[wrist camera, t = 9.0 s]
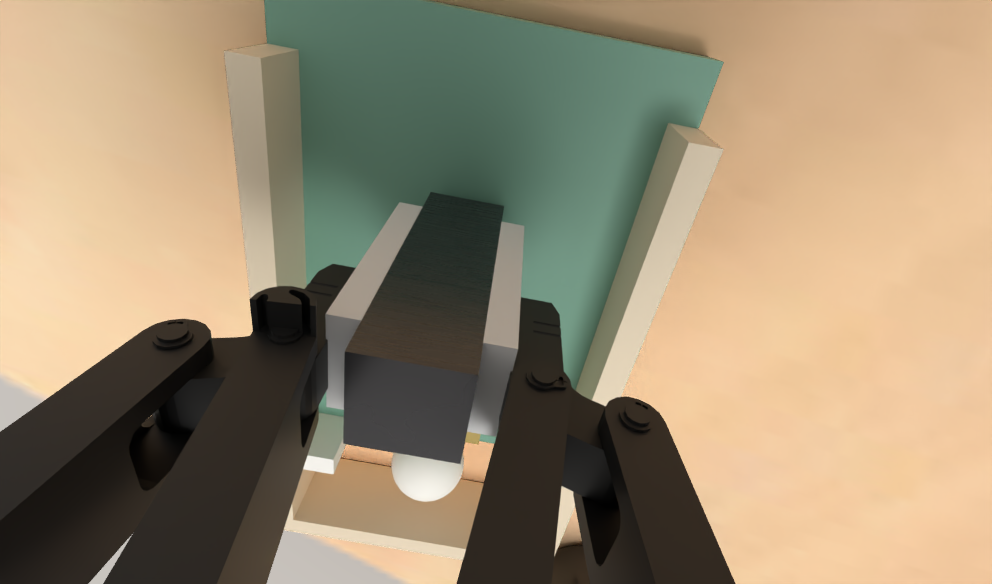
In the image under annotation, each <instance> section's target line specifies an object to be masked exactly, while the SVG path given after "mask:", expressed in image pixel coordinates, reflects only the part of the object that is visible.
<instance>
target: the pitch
mask: <svg viewBox="0 0 992 584" xmlns="http://www.w3.org/2000/svg"><path fill="white" fill-rule="evenodd" d="M264 4H265V19H266V35H267V44H261V45H255V46H249V47H243V48H237V49H231V50H225V51H224V57H225V66H226V76H227V85H228V95H229V104H230V114H231V123H232V132H233V142H234V151H235V161H236V170H237V180H238V189H239V199H240V208H241V218H242V227H243V236H244V246H245V255H246V265H247V274H248V284H249V293H250V298H252V297H253V296H254V295H255V294H256V293H257V292H260V291H262V290H264V289H267V288H271V287H277V286H294V287H298V288H303V289H305V288H306V286H307V285H308V284H309V283H310V281H311V280H312V279H313V277H314V276H315V275H316V274H317V272H318V271H320V270H322V269H324V268H325V267H327V266H329V265H331V264H338V265H343V266H349V267H354V268H356V267H357V266H358V264H359V263H360V261H361V260H362V258H363V257H364V255H365V254H366V252H367V251H368V249H369V248H370V246H371V245H372V243H373V241H374V240H375V238H376V237H377V235H378V234H379V232H380V231H381V229H382V228H383V226H384V225H385V223H386V222H387V220H388V219H389V217H390V216H391V214H392V213H393V211H394V210H395V208H396V207H397V205H398V204H399V202H401V203H406V204H412V205H417V206H422V207H423V205H424V204H425V202H426V200H427V198H428V196H429V194H430V192H434V193H439V194H444V195H450V196H455V197H460V198H465V199H471V200H476V201H481V202H486V203H491V204H497V205H502V206H504V210H503V217H502V222H506V223H512V224H517V225H522V226H524V243H523V263H522V282H521V297H523V298H528V299H533V300H539V301H544V302H550V303H552V304H553V306H554V307H555V308H556V310H557V311H558V313H559V314H560V328H561V340H562V353H563V367H564V372H565V373H566V375H567V376H568V377H569V379H570V381H571V386H572V388H573V389H574V390H575V391H577V392H578V393H579V394H581V395H582V396H584V397H586V398H588V399H590V400H592V401H595V402H597V403H599V404H602V405H604V406H606V405H607V403H608V402H609V401H610V400H612V399H614V398H616V397H621V395H622V393H623V390H624V388H625V385H626V383H627V381H628V378H629V376H630V373H631V371H632V368H633V366H634V364H635V361H636V359H637V356H638V354H639V352H640V349H641V347H642V344H643V342H644V340H645V337H646V335H647V332H648V330H649V328H650V325H651V323H652V320H653V318H654V316H655V313H656V311H657V308H658V306H659V304H660V301H661V299H662V296H663V294H664V292H665V289H666V287H667V284H668V282H669V279H670V277H671V275H672V272H673V270H674V267H675V265H676V263H677V260H678V258H679V255H680V253H681V251H682V248H683V246H684V243H685V241H686V239H687V236H688V234H689V231H690V229H691V227H692V224H693V222H694V219H695V217H696V215H697V212H698V210H699V207H700V205H701V203H702V200H703V198H704V195H705V193H706V190H707V188H708V186H709V183H710V181H711V178H712V176H713V174H714V171H715V169H716V166H717V164H718V162H719V159H720V157H721V154H722V152H723V150H724V149H723V148H721V147H720V146H719V145H718V144H716V143H715V142H714V141H713V140H711V139H710V138H709V137H708V136H707V135H705V134H704V133H703V132H702V131H700V130H699V129H698V128H699V126H700V123H701V120H702V118H703V115H704V113H705V110H706V107H707V105H708V102H709V99H710V97H711V94H712V92H713V89H714V86H715V84H716V81H717V78H718V76H719V73H720V71H721V68H722V65H723V63H724V62H722V61H719V60H716V59H713V58H710V57H707V56H702V55H697V54H692V53H687V52H682V51H677V50H672V49H667V48H662V47H657V46H652V45H648V44H643V43H638V42H633V41H628V40H623V39H618V38H613V37H608V36H603V35H598V34H593V33H588V32H583V31H578V30H574V29H569V28H564V27H559V26H554V25H549V24H544V23H539V22H534V21H529V20H524V19H519V18H514V17H509V16H504V15H500V14H495V13H490V12H485V11H480V10H475V9H470V8H465V7H460V6H455V5H450V4H445V3H440V2H435V1H430V0H264ZM343 425H344V410H342V409H336V408H330V407H326V393H325V394H324V396H323V398H322V400H321V402H320V404H319V421H318V424H317V428H316V431H315V434H314V437H313V440H312V443H311V446H310V449H309V452H308V455H307V459H306V462H305V465H304V468H303V471H302V474H301V477H300V480H299V483H298V487H297V490H296V493H295V496H294V499H293V502H292V505H291V508H290V511H289V514H288V518H287V521H286V524H285V527H284V530H286V531H292V532H298V533H304V534H310V535H316V536H322V537H328V538H334V539H340V540H346V541H352V542H357V543H363V544H369V545H375V546H381V547H387V548H393V549H399V550H405V551H411V552H417V553H423V554H429V555H435V556H440V557H446V558H452V559H458V560H463V558H464V555H465V551H466V547H467V544H468V540H469V536H470V533H471V529H472V525H473V521H474V518H475V514H476V510H477V507H478V503H479V499H480V495H481V492H482V488H483V484H484V483H480V482H474V481H469V480H463V479H460V480H459V482H458V484H457V485H456V487H455V488H454V489H453V490H452V491H451V492H450V493H449V494H447V495H446V496H444V497H443V498H440V499H438V500H435V501H428V502H423V501H418V500H414V499H412V498H410V497H408V496H407V495H405V494H404V493H403V492H402V491H401V490H400V489H399V487H398V486H397V484H396V482H395V480H394V478H393V474H392V467H388V466H382V465H377V464H371V463H365V462H359V461H354V460H348V459H342V458H341V456H342V453H343V451H344V449H345V446H346V444H343ZM497 432H498V431H497ZM496 436H497V435H496ZM495 440H496V437H494V436H489V435H483V434H481V435H480V440H479V441H483V442H489V443H494V444H495ZM574 508H575V502H574V497H573V491H571V490H569V489H567V488H565V487H563V486H562V488H561V498H560V507H559V517H558V527H557V536H556V546H555V554H556V551H557V549H558V546H559V544H560V542H561V539H562V537H563V534H564V532H565V530H566V527H567V525H568V522H569V520H570V518H571V515H572V513H573V510H574ZM554 556H555V555H554Z"/></svg>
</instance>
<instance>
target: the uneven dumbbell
mask: <svg viewBox="0 0 992 584" xmlns="http://www.w3.org/2000/svg"><path fill="white" fill-rule="evenodd" d="M503 210H504V206H502V205H497V204H491V203H486V202H481V201H476V200H471V199H465V198H460V197H455V196H450V195H444V194H439V193H434V192H430V194H429V196H428V198H427V200H426V202H425V204H424V205H423V208H422V209H421V211H420V213H419V215H418V217H417V219H416V221H415V222H414V224H413V226H412V228H411V230H410V232H409V234H408V235H407V237H406V239H405V241H404V243H403V245H402V246H401V248H400V250H399V252H398V254H397V256H396V258H395V259H394V261H393V263H392V265H391V267H390V269H389V271H388V272H387V274H386V276H385V278H384V280H383V282H382V284H381V285H380V287H379V289H378V291H377V293H376V295H375V297H374V298H373V300H372V302H371V304H370V306H369V308H368V310H367V311H366V313H365V315H364V317H363V319H362V321H361V322H360V324H359V326H358V328H357V329H356V331H355V333H354V335H353V337H352V339H351V340H350V342H349V344H348V346H347V348H346V350H345V359H344V425H343V444H348V445H354V446H359V447H365V448H371V449H377V450H382V451H388V452H394V453H399V454H405V455H411V456H417V457H422V458H428V459H434V460H440V461H445V462H451V463H457V464H461V459H462V454H463V449H464V444H465V442H468V443H473V444H479V440H480V435H481V434H477V433H472V432H467V429H468V424H469V419H470V414H471V410H472V405H473V400H474V395H475V390H476V385H477V380H478V375H479V368H480V362H481V355H482V349H483V340H484V333H485V327H486V320H487V313H488V307H489V300H490V294H491V287H492V281H493V274H494V268H495V261H496V255H497V248H498V242H499V235H500V229H501V222H502V217H503Z"/></svg>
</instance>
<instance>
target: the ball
mask: <svg viewBox="0 0 992 584" xmlns="http://www.w3.org/2000/svg"><path fill="white" fill-rule="evenodd" d="M391 467H392V474H393V478H394V480H395V482H396V484H397V486H398V487H399V489H400V490H401V491H402V492H403V493H404V494H405V495H407V496H408V497H410V498H412V499H414V500H418V501H423V502H428V501H435V500H438V499H440V498H443V497H444V496H446V495H447V494H449V493H450V492H451V491H452V490H453V489H454V488H455V487H456V485H457V484H458V482H459V480H460V478H461V476H462V472H463V467H464V456H463V454H462V459H461V464H457V463H451V462H445V461H440V460H434V459H428V458H422V457H417V456H411V455H405V454H399V453H393V457H392V466H391Z"/></svg>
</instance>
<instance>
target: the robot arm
mask: <svg viewBox="0 0 992 584" xmlns="http://www.w3.org/2000/svg"><path fill="white" fill-rule="evenodd" d="M422 208H423V207H422V206H417V205H412V204H406V203H401V202H399V204H398V205H397V207H396V208H395V210H394V211H393V213H392V214H391V216H390V217H389V219H388V220H387V222H386V223H385V225H384V226H383V228H382V229H381V231H380V232H379V234H378V235H377V237H376V238H375V240H374V241H373V243H372V245H371V246H370V248H369V249H368V251H367V252H366V254H365V255H364V257H363V258H362V260H361V261H360V263H359V264H358V266H357V267H356V268H354V267H349V266H343V265H338V264H331V265H329V266H327V267H325V268H324V269H322V270H320V271H318V272H317V274H316V275H315V276H314V277H313V279H312V280H311V281H310V283H309V284H308V285H307V286H306V288H305V289H303V288H298V287H294V286H277V287H271V288H267V289H264V290H262V291H260V292H257V293H256V294H255V295H254V296H253V297H252V298H250V307H251V316H252V325H253V332H252V334H251V335H250V336H247V337H237V338H211V331H210V330H209V328H208V327H207V326H206V325H205V324H203V323H201V322H199V321H196V320H189V319H176V320H168V321H164V322H161V323H157V324H154V325H153V326H151V327H149V328H147V329H145V330H143V331H142V332H140V333H139V334H138V335H136V336H135V337H133V338H132V339H131V340H129V341H128V342H126V343H125V344H124V345H122V346H121V347H119V348H118V349H116V350H115V351H114V352H112V353H111V354H109V355H108V356H107V357H105V358H104V359H102V360H101V361H100V362H98V363H97V364H95V365H94V366H93V367H91V368H90V369H88V370H87V371H85V372H84V373H83V374H81V375H80V376H78V377H77V378H76V379H74V380H73V381H71V382H70V383H69V384H67V385H66V386H64V387H63V388H62V389H60V390H59V391H57V392H56V393H54V394H53V395H52V396H50V397H49V398H47V399H46V400H45V401H43V402H42V403H40V404H39V405H38V406H36V407H35V408H33V409H32V410H31V411H29V412H28V413H26V414H25V415H23V416H22V417H21V418H19V419H18V420H16V421H15V422H14V423H12V424H11V425H9V426H8V427H7V428H5V429H4V430H2V431H1V432H0V584H88V583H89V582H90V581H91V580H92V579H93V578H94V576H95V575H96V574H97V573H98V572H99V571H100V570H101V569H102V567H103V566H104V565H105V564H106V563H107V562H108V561H109V560H110V558H111V557H112V556H113V555H114V554H115V553H116V552H117V550H118V549H119V548H120V547H121V546H122V545H123V544H124V543H125V541H126V540H127V539H128V538H129V537H130V536H131V535H132V534H133V535H132V537H131V538H130V540H129V541H128V543H127V545H126V546H125V548H124V550H123V551H122V553H121V555H120V557H119V558H118V560H117V562H116V563H115V565H114V567H113V568H112V570H111V572H110V573H109V575H108V577H107V578H106V580H105V582H104V583H103V584H266V583H267V580H268V577H269V573H270V570H271V567H272V564H273V561H274V558H275V555H276V552H277V548H278V545H279V542H280V539H281V536H282V533H283V530H284V527H285V524H286V521H287V518H288V514H289V511H290V508H291V505H292V502H293V499H294V496H295V493H296V490H297V487H298V483H299V480H300V477H301V474H302V471H303V468H304V465H305V462H306V459H307V455H308V452H309V449H310V446H311V443H312V440H313V437H314V434H315V431H316V428H317V424H318V421H319V404H320V402H321V400H322V398H323V396H324V394H325V393H326V407H330V408H336V409H342V410H344V359H345V350H346V348H347V346H348V344H349V342H350V340H351V339H352V337H353V335H354V333H355V331H356V329H357V328H358V326H359V324H360V322H361V321H362V319H363V317H364V315H365V313H366V311H367V310H368V308H369V306H370V304H371V302H372V300H373V298H374V297H375V295H376V293H377V291H378V289H379V287H380V285H381V284H382V282H383V280H384V278H385V276H386V274H387V272H388V271H389V269H390V267H391V265H392V263H393V261H394V259H395V258H396V256H397V254H398V252H399V250H400V248H401V246H402V245H403V243H404V241H405V239H406V237H407V235H408V234H409V232H410V230H411V228H412V226H413V224H414V222H415V221H416V219H417V217H418V215H419V213H420V211H421V209H422ZM523 243H524V226H522V225H517V224H512V223H506V222H501V229H500V235H499V242H498V248H497V255H496V261H495V268H494V274H493V281H492V287H491V294H490V300H489V307H488V313H487V320H486V327H485V333H484V340H483V349H482V355H481V362H480V368H479V375H478V380H477V385H476V390H475V395H474V400H473V405H472V410H471V414H470V419H469V424H468V429H467V432H472V433H477V434H483V435H489V436H494V437H496V440H495V444H494V447H493V451H492V455H491V458H490V462H489V466H488V469H487V473H486V477H485V481H484V484H483V488H482V492H481V495H480V499H479V503H478V507H477V510H476V514H475V518H474V521H473V525H472V529H471V533H470V536H469V540H468V544H467V547H466V551H465V555H464V558H463V562H462V566H461V570H460V573H459V577H458V581H457V584H552V575H553V565H554V555H555V546H556V536H557V527H558V517H559V507H560V498H561V488H562V486H563V487H565V488H567V489H569V490H571V491H573V497H574V502H575V507H576V512H577V517H578V523H579V528H580V533H581V538H582V544H583V549H584V554H585V559H586V564H587V570H588V575H589V580H590V584H735V582H734V579H733V577H732V575H731V572H730V570H729V568H728V566H727V563H726V561H725V559H724V556H723V554H722V552H721V549H720V547H719V545H718V542H717V540H716V538H715V536H714V533H713V531H712V529H711V526H710V524H709V522H708V519H707V517H706V515H705V513H704V510H703V508H702V506H701V503H700V501H699V499H698V496H697V494H696V492H695V489H694V487H693V485H692V483H691V480H690V478H689V476H688V473H687V471H686V469H685V466H684V464H683V462H682V459H681V457H680V455H679V453H678V450H677V448H676V446H675V443H674V441H673V439H672V436H671V434H670V432H669V430H668V427H667V425H666V423H665V421H664V419H663V418H662V416H661V415H660V413H659V412H657V411H656V410H655V409H654V408H653V407H652V406H650V405H649V404H647V403H645V402H643V401H641V400H639V399H635V398H631V397H616V398H614V399H612V400H610V401H609V402H608V403H607V405H606V406H604V405H602V404H599V403H597V402H595V401H592V400H590V399H588V398H586V397H584V396H582V395H581V394H579V393H578V392H577V391H575V390H574V389H573V388H572V386H571V381H570V379H569V377H568V376H567V375H566V373H565V372H564V367H563V353H562V340H561V328H560V314H559V313H558V311H557V310H556V308H555V307H554V306H553V304H552V303H550V302H544V301H539V300H533V299H528V298H523V297H521V282H522V263H523ZM152 414H153V415H152ZM151 415H152V416H151ZM497 431H498V432H497ZM496 435H497V436H496ZM133 532H134V533H133Z"/></svg>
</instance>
